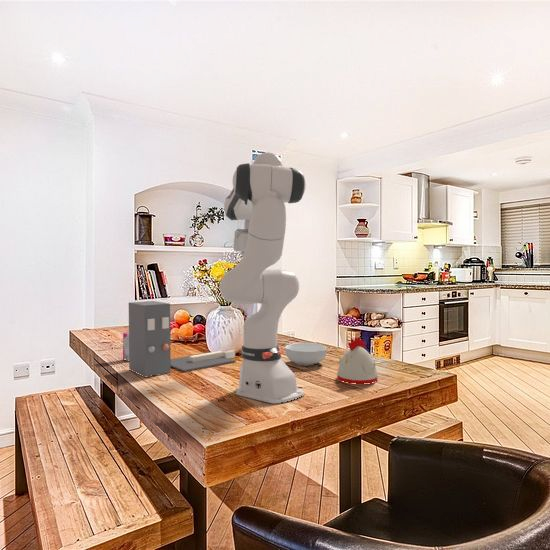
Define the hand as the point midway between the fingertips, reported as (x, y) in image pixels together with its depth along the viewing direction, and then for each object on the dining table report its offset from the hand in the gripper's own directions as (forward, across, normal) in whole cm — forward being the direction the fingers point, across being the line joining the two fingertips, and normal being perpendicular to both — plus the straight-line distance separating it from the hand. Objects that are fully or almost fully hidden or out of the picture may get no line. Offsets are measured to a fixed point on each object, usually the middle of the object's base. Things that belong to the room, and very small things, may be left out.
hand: (255, 262), depth 175 cm
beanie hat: (+41, +9, -46) cm, 63 cm away
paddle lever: (+38, -13, +13) cm, 43 cm away
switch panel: (+41, -41, +13) cm, 59 cm away
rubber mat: (+41, -20, +13) cm, 47 cm away
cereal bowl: (+41, +12, -18) cm, 47 cm away
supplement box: (+41, -38, +36) cm, 67 cm away
